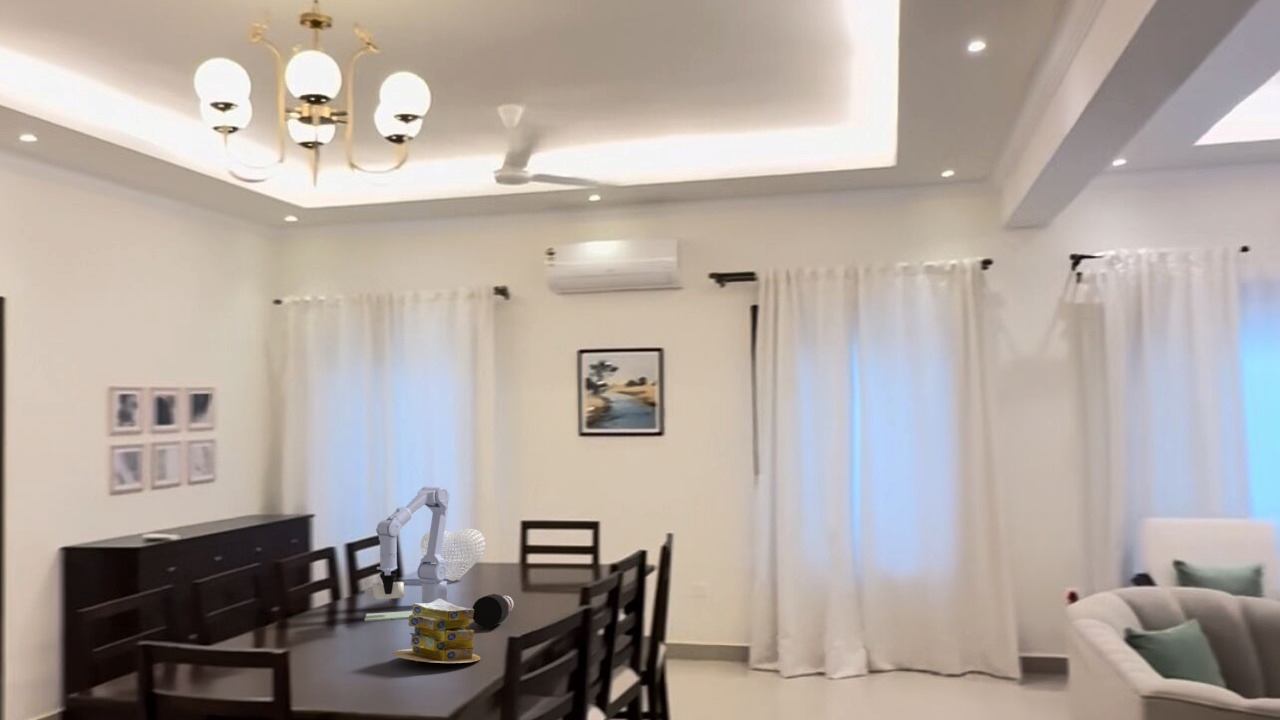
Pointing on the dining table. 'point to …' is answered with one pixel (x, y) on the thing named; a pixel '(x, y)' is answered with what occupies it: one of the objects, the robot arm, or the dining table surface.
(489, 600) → the dark bottle
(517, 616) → the dining table surface
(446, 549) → the heart
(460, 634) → the stacked yellow boxes
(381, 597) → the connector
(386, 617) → the mat
